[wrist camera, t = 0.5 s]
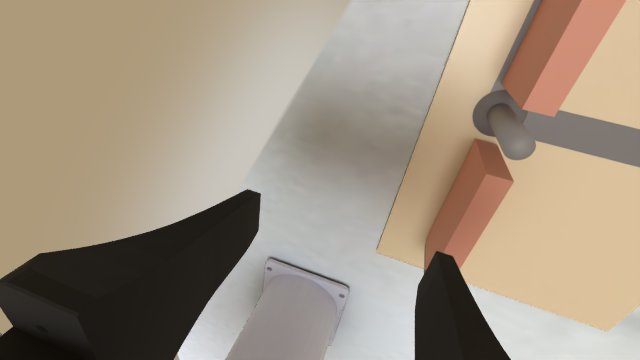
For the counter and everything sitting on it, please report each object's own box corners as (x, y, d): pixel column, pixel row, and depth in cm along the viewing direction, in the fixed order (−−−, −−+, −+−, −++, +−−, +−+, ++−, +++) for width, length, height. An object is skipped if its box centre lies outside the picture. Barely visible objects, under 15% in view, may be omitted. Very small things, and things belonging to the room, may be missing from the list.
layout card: (605, 327, 21) (607, 332, 21) (376, 249, 24) (375, 253, 24) (957, 34, 11) (971, 35, 11) (486, -44, 14) (487, -45, 13)
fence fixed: (504, 125, 17) (527, 164, 13) (482, 119, 17) (497, 156, 13) (602, -60, 13) (683, -87, 8) (570, -64, 13) (635, -93, 9)
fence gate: (437, 255, 22) (439, 306, 18) (421, 249, 22) (419, 299, 19) (497, 144, 17) (515, 185, 13) (475, 138, 17) (487, 177, 14)
